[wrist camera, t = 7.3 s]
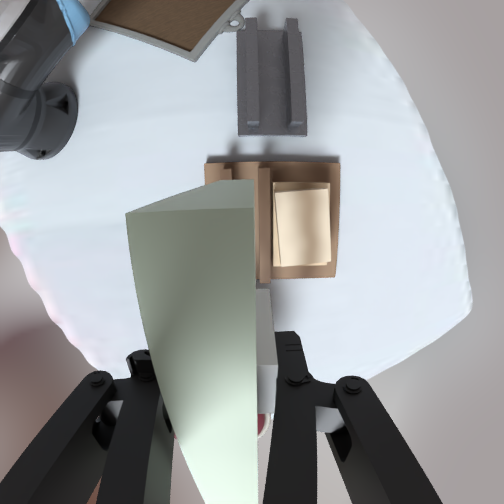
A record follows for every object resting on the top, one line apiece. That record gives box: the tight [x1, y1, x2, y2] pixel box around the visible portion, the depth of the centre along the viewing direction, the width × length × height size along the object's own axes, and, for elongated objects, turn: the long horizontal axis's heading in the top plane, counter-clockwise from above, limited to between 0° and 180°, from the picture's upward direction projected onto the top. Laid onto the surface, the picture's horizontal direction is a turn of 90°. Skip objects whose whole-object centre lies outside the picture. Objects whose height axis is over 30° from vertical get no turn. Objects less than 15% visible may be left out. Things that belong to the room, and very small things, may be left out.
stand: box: [237, 18, 307, 137], centre depth 33 cm, size 10×18×8 cm, turn 1°
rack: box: [204, 161, 340, 283], centre depth 40 cm, size 20×18×6 cm
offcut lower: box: [272, 182, 330, 266], centre depth 40 cm, size 8×12×2 cm, turn 1°
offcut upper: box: [274, 188, 331, 267], centre depth 38 cm, size 7×10×2 cm
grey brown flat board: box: [89, 0, 249, 62], centre depth 31 cm, size 19×2×30 cm
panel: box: [125, 179, 258, 504], centre depth 15 cm, size 2×14×16 cm, turn 1°
